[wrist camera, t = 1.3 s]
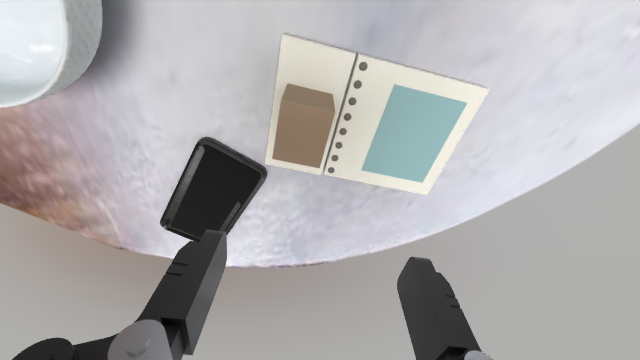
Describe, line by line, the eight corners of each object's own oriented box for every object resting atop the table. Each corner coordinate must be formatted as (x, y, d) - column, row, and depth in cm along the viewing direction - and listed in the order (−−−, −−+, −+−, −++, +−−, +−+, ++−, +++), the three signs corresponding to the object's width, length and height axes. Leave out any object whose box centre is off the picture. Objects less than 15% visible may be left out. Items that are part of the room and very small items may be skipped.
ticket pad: (323, 169, 28) (323, 175, 28) (357, 52, 22) (359, 55, 21) (423, 189, 30) (427, 195, 29) (483, 86, 23) (490, 89, 22)
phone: (157, 226, 32) (199, 136, 25) (162, 220, 33) (204, 131, 26) (217, 250, 35) (270, 174, 28) (219, 244, 36) (272, 169, 29)
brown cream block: (266, 159, 27) (255, 190, 23) (283, 33, 21) (273, 41, 16) (321, 170, 28) (321, 202, 24) (354, 52, 22) (363, 65, 17)
